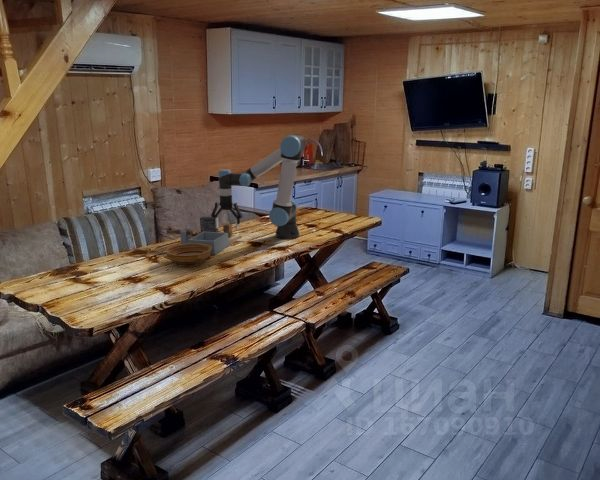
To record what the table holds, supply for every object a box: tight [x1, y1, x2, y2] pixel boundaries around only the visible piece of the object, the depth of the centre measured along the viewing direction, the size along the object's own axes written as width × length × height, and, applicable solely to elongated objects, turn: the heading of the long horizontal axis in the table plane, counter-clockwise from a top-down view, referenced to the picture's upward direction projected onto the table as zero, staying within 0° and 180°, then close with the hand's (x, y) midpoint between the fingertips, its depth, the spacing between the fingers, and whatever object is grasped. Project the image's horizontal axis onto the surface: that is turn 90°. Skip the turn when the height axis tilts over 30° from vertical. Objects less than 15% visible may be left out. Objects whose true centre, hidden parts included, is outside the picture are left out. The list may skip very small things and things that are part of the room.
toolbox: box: [179, 227, 230, 256], centre depth 310 cm, size 22×20×12 cm
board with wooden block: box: [222, 223, 243, 246], centre depth 331 cm, size 15×19×9 cm
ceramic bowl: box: [163, 243, 213, 267], centre depth 284 cm, size 30×24×8 cm
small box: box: [199, 216, 219, 233], centre depth 349 cm, size 11×6×10 cm, turn 84°
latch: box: [166, 227, 194, 236], centre depth 309 cm, size 15×3×3 cm, turn 74°
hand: (227, 228), depth 335 cm, fingers open, 13 cm apart
